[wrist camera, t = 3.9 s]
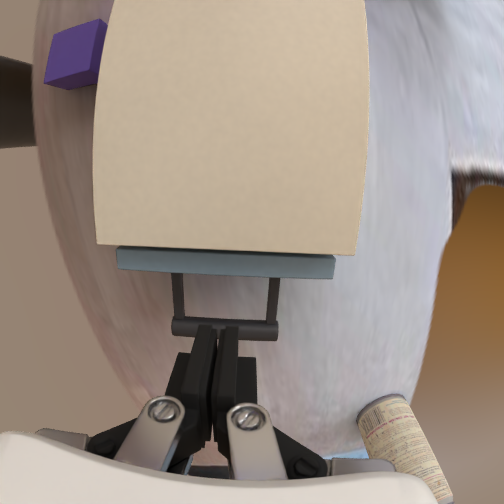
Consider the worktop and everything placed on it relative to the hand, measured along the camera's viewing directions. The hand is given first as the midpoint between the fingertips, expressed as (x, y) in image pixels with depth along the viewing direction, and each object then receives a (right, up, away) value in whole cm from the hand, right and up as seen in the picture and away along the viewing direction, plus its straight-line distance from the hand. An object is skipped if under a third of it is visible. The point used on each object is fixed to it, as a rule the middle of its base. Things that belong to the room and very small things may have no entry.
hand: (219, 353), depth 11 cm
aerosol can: (+18, -16, +17) cm, 29 cm away
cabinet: (0, +14, +6) cm, 16 cm away
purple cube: (-11, +20, +4) cm, 23 cm away
